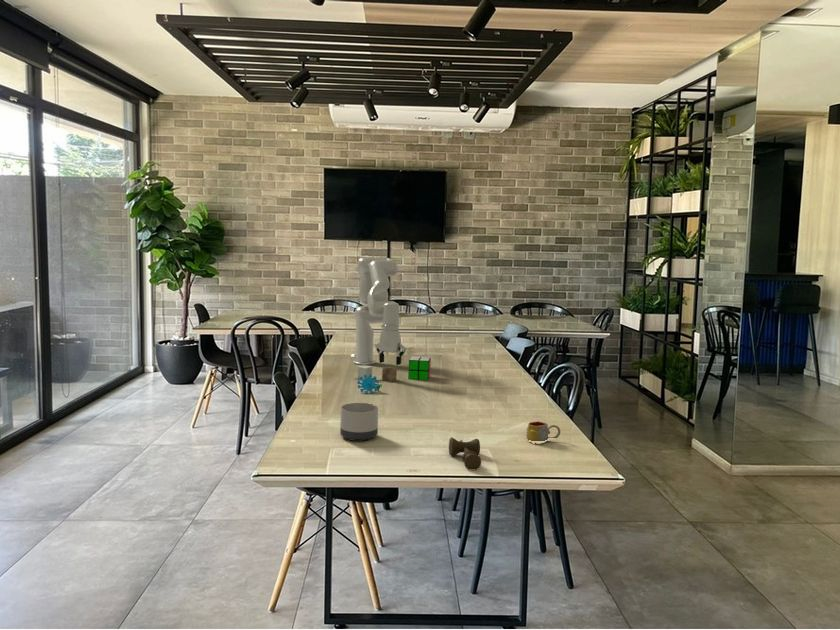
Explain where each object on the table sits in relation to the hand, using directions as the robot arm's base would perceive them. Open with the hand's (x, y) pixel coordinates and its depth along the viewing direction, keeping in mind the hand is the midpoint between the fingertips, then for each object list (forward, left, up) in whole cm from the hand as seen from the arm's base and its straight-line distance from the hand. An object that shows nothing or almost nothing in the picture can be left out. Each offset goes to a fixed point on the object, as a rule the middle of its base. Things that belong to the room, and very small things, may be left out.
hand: (390, 363), depth 308 cm
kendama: (+81, -78, -9) cm, 113 cm away
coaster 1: (-11, -5, -9) cm, 15 cm away
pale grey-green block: (-11, -5, -8) cm, 15 cm away
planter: (+41, -80, -9) cm, 90 cm away
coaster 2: (0, 0, -9) cm, 9 cm away
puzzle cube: (+8, +15, -9) cm, 19 cm away
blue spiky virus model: (+5, -24, -9) cm, 27 cm away
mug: (+95, -45, -9) cm, 106 cm away
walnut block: (0, 0, -8) cm, 8 cm away
